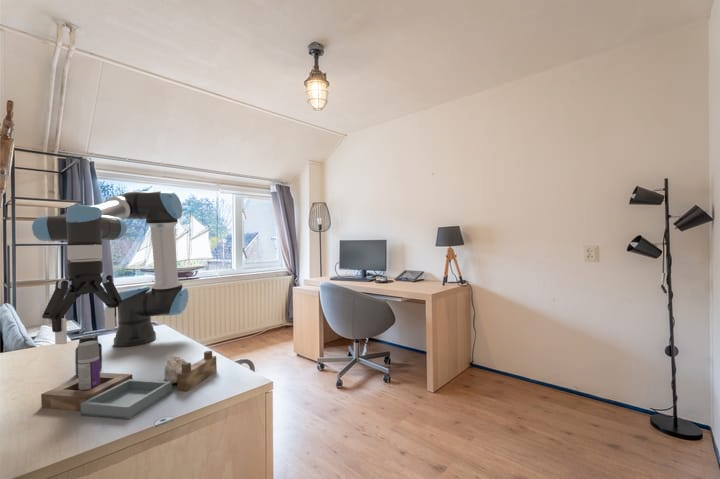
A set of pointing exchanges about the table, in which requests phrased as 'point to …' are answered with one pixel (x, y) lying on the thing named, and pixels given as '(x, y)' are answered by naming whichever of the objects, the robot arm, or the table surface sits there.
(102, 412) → the tray
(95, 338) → the supplement bottle
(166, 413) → the table surface
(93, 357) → the container
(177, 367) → the stone
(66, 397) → the block
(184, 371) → the bar
